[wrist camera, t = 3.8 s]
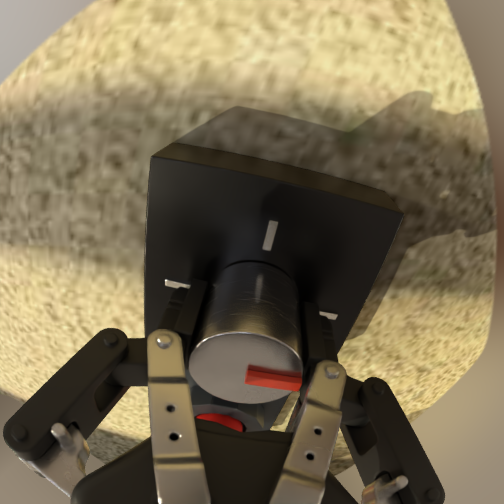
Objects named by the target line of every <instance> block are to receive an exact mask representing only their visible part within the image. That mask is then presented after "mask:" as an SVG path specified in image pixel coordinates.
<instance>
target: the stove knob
mask: <svg viewBox="0 0 504 504" xmlns="http://www.w3.org/2000/svg"><path fill="white" fill-rule="evenodd" d="M188 368H189V372H190V374H191V376H192V378H193V379H194V381H195V382H196V383H197V384H198V385H199V386H200V387H201V388H203V389H204V390H205V391H207V392H209V393H210V394H212V395H214V396H216V397H219V398H221V399H224V400H228V401H232V402H237V403H247V404H256V403H265V402H270V401H274V400H277V399H280V398H282V397H284V396H286V395H288V394H289V393H291V392H292V391H299V389H300V387H301V385H302V377H303V373H304V364H303V349H302V334H301V321H300V308H299V296H298V291H297V289H296V286H295V285H294V283H293V281H292V280H291V279H290V278H289V277H288V276H287V275H286V274H285V273H284V272H282V271H281V270H279V269H277V268H275V267H273V266H271V265H268V264H264V263H258V262H243V263H238V264H234V265H231V266H229V267H227V268H225V269H223V270H222V271H220V272H219V273H218V274H217V275H216V276H215V277H214V278H213V280H212V281H211V283H210V285H209V288H208V291H207V294H206V298H205V301H204V304H203V308H202V311H201V315H200V318H199V321H198V325H197V328H196V332H195V335H194V339H193V342H192V346H191V349H190V353H189V357H188Z"/></svg>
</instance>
